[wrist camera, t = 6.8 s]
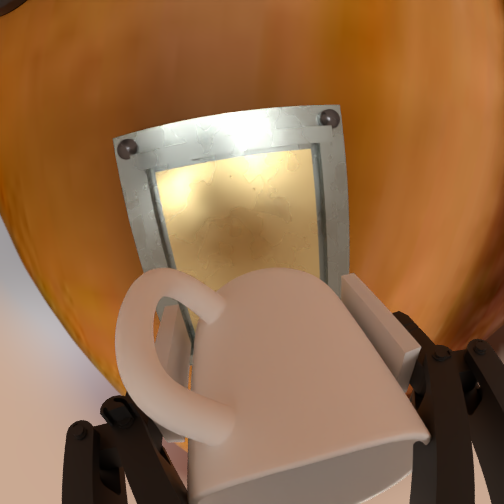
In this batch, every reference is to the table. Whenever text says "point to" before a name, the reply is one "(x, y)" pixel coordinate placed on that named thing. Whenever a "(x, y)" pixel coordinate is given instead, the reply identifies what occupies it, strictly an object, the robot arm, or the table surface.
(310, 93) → the table surface
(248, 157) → the silver and gold block
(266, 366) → the cup
